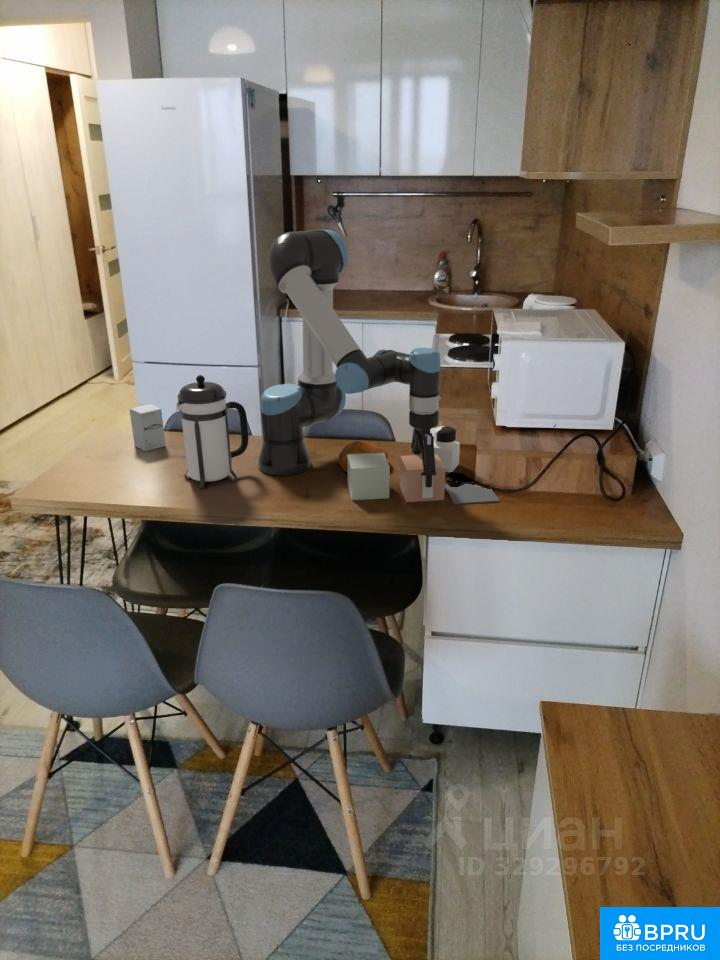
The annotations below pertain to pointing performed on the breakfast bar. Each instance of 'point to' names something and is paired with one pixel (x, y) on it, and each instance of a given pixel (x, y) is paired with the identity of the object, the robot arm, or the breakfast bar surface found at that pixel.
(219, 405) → the coffee press
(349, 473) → the pale mint cube
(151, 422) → the supplement box
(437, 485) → the peach wooden cube
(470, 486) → the coaster
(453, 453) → the medicine bottle
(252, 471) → the breakfast bar surface
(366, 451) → the croissant
